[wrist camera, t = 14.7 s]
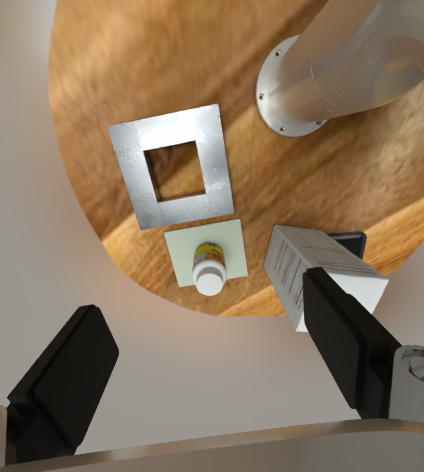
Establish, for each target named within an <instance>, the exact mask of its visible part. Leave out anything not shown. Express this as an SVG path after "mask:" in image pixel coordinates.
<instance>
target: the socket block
mask: <svg viewBox="0 0 424 472" xmlns="http://www.w3.org/2000/svg"><path fill="white" fill-rule="evenodd" d="M107 128H108V131H109V134H110V137H111V140H112V143H113V146H114V149H115V152H116V155H117V158H118V162H119V165H120V168H121V171H122V174H123V177H124V180H125V183H126V186H127V189H128V192H129V195H130V199H131V202H132V205H133V208H134V211H135V214H136V217H137V220H138V223H139V226H140V229H141V230H145V229H150V228H156V227H161V226H167V225H172V224H178V223H183V222H189V221H195V220H200V219H206V218H211V217H217V216H222V215H228V214H233V213H234V207H233V200H232V193H231V187H230V180H229V173H228V167H227V160H226V153H225V147H224V140H223V133H222V127H221V120H220V113H219V106H218V104H214V105H209V106H204V107H200V108H195V109H190V110H185V111H180V112H175V113H170V114H166V115H161V116H156V117H151V118H146V119H141V120H136V121H132V122H127V123H122V124H117V125H112V126H107ZM193 141H196V144H197V149H198V154H199V160H200V165H201V170H202V175H203V180H204V185H205V191H201V192H196V193H190V194H185V195H180V196H174V197H169V198H164V199H161V197H160V194H159V190H158V186H157V183H156V179H155V175H154V172H153V168H152V164H151V161H150V157H149V153H148V150H153V149H158V148H163V147H168V146H173V145H178V144H183V143H188V142H193Z"/></svg>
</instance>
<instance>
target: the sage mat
mask: <svg viewBox="0 0 424 472" xmlns="http://www.w3.org/2000/svg"><path fill="white" fill-rule="evenodd" d="M164 235H165V239H166V242H167V246H168V249H169V253H170V256H171V260H172V263H173V267H174V270H175V274H176V277H177V281H178V284H179V287H183V286H189V285H195V284H194V282H193V280H192V269H193V261H194V254H195V251H196V249H197V247H198V246H199V245H201V244H203V243H206V242H212V243H215V244H217V245H219V246H220V247H221V249H222V250H223V253H224V259H225V266H226V272H227V278H226V279H231V278H237V277H243V276H248V272H247V265H246V258H245V251H244V244H243V237H242V230H241V223H240V218H238V219H232V220H226V221H221V222H215V223H210V224H204V225H199V226H193V227H188V228H182V229H177V230H171V231H165V232H164Z"/></svg>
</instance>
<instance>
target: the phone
mask: <svg viewBox="0 0 424 472" xmlns="http://www.w3.org/2000/svg"><path fill="white" fill-rule="evenodd" d="M327 235H328V236H329V237H331V238H332V239H334V240H335V241H336V242H338V243H339V244H341V245H342V246H343V247H345V248H346V249H347V250H348V251H350V252H351V253H353V254H354V255H356V256H357V257H358V258H360V259H361V260H362V258H363V253H364V248H365V244H366V239H367V236H366V234H364V233H363V232H360V231H358V232H345V233H331V234H327Z"/></svg>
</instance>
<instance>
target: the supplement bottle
mask: <svg viewBox="0 0 424 472" xmlns="http://www.w3.org/2000/svg"><path fill="white" fill-rule="evenodd" d="M226 278H227V272H226V266H225V259H224V253H223V250H222V249H221V247H220V246H219V245H217V244H215V243H212V242H206V243H203V244H201V245H199V246H198V247H197V249H196V251H195V254H194V261H193V269H192V280H193V282H194V284H195V285H196V286H197V289H198V291H199V292H200V293H202V294H203V295H207V296H212V295H215V294H217V293H219V292H220V291H221V289H222V287H223V285H224V283H225V281H226Z"/></svg>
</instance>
